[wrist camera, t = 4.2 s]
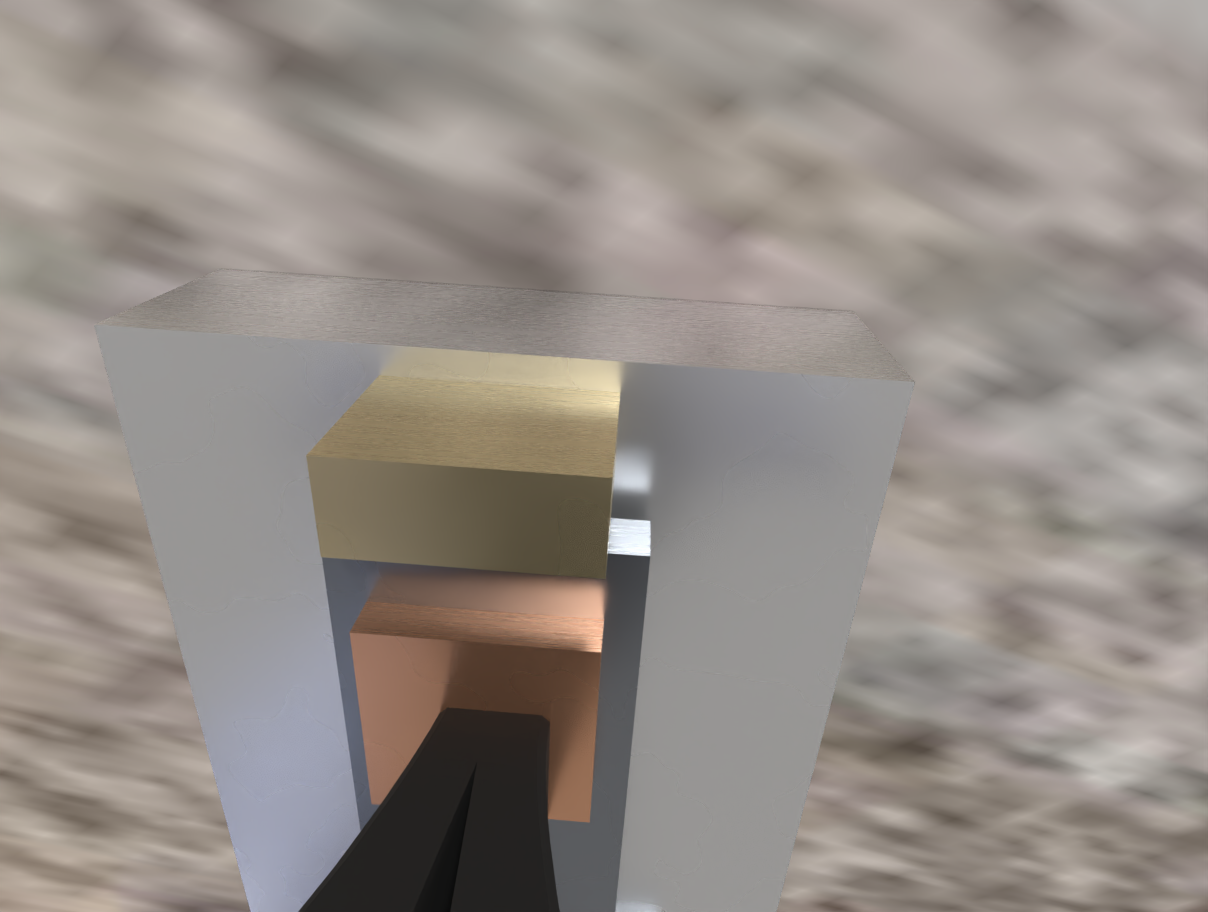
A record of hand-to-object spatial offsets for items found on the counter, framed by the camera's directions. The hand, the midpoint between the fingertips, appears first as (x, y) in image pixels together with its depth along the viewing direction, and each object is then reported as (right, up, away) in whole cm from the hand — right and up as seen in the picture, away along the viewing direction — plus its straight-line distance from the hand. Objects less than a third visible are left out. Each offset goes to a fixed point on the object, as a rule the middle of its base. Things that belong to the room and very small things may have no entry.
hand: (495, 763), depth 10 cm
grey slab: (0, -2, +2) cm, 3 cm away
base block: (0, 0, +5) cm, 5 cm away
